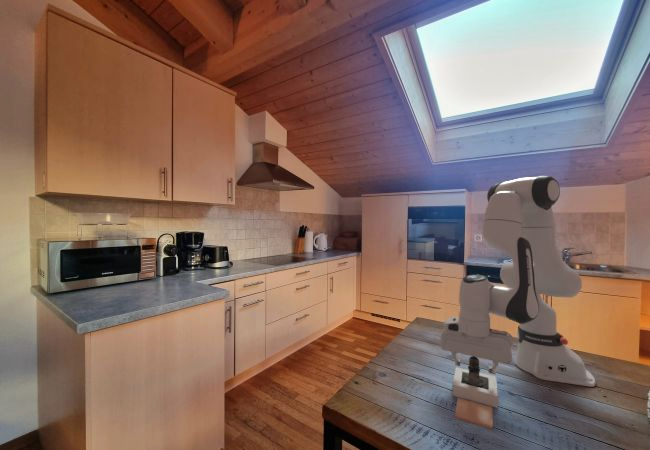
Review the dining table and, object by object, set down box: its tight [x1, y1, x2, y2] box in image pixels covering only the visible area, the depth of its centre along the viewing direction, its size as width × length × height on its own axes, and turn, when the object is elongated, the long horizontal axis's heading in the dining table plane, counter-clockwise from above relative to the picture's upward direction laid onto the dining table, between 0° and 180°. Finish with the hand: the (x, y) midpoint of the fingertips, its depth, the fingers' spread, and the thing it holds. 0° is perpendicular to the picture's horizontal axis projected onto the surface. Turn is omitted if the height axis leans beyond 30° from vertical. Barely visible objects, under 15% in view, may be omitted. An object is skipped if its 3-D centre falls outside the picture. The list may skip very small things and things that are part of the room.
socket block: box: [452, 366, 499, 409], centre depth 88 cm, size 12×12×4 cm
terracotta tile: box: [454, 397, 494, 430], centre depth 78 cm, size 9×9×1 cm
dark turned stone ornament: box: [464, 356, 485, 389], centre depth 88 cm, size 6×6×12 cm
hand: (474, 369), depth 88 cm, fingers open, 8 cm apart
